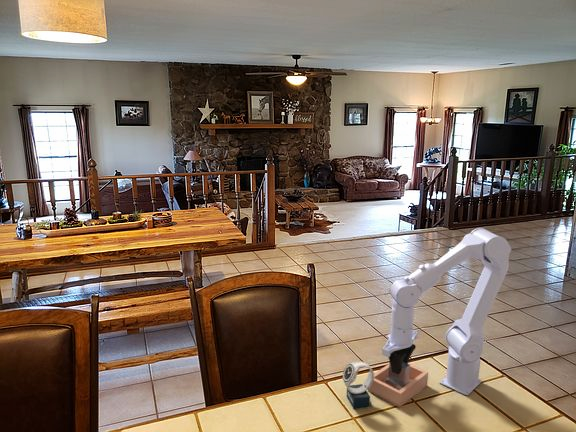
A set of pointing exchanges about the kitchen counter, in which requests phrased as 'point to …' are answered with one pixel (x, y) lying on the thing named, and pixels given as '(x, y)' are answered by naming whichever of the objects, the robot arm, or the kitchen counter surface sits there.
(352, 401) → the watch
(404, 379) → the grey metal t-piece
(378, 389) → the salmon pink open box
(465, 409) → the kitchen counter surface
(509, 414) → the kitchen counter surface
